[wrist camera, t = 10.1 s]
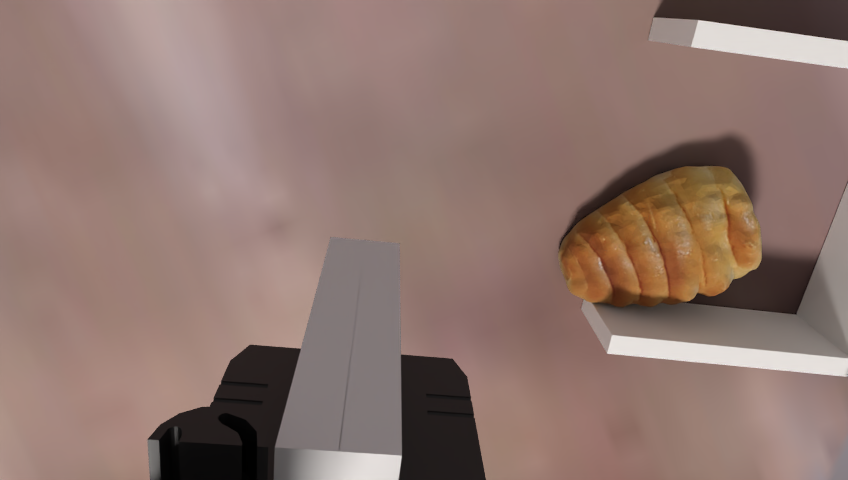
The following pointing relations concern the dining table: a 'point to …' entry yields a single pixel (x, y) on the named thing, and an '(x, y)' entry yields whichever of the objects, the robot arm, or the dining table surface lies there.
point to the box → (732, 327)
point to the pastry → (664, 240)
